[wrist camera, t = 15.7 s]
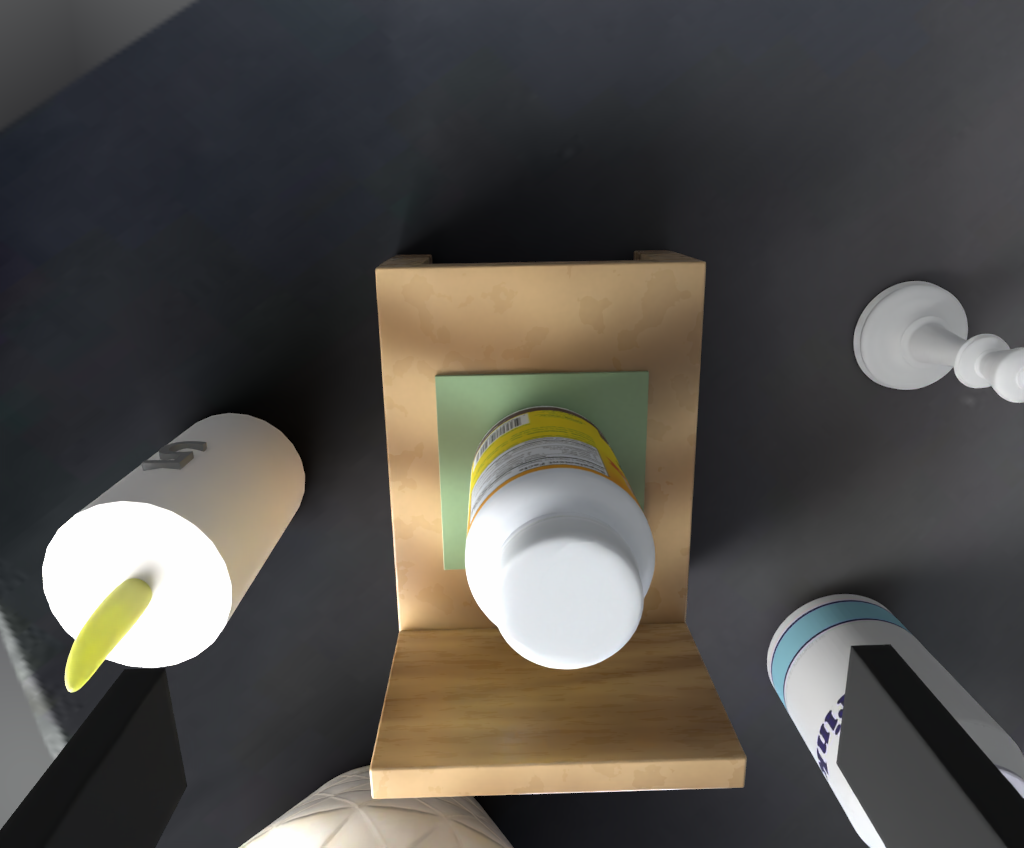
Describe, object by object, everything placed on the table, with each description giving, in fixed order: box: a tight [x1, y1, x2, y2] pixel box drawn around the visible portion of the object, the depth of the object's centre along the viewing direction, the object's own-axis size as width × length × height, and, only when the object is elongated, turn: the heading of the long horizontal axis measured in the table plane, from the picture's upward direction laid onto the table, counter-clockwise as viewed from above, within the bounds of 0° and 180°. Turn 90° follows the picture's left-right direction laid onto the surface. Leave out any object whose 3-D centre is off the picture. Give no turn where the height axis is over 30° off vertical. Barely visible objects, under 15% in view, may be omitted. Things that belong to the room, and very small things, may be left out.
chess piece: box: [853, 281, 1024, 403], centre depth 30 cm, size 5×5×10 cm
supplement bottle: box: [465, 406, 655, 669], centre depth 24 cm, size 6×6×10 cm
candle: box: [42, 413, 305, 692], centre depth 29 cm, size 6×6×15 cm
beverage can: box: [767, 594, 1024, 848], centre depth 33 cm, size 7×7×12 cm
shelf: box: [369, 250, 747, 799], centre depth 29 cm, size 16×12×14 cm
